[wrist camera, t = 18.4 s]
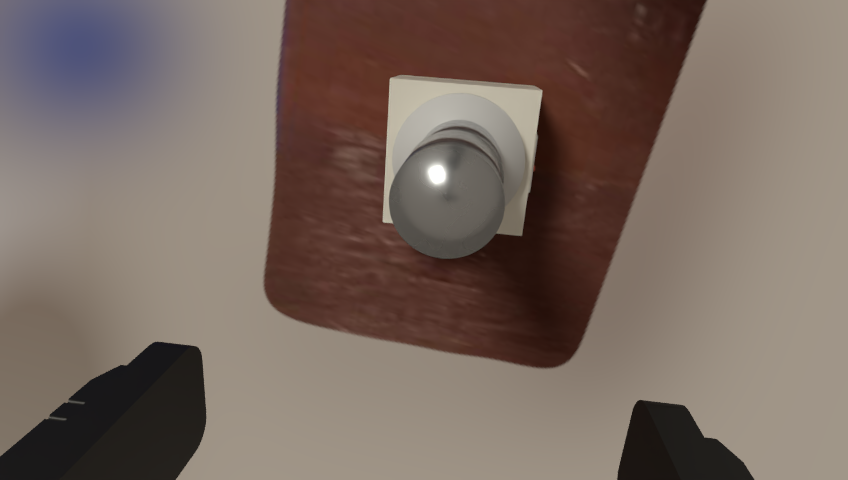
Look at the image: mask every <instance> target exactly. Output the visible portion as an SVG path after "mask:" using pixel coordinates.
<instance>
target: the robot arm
mask: <svg viewBox="0 0 848 480" xmlns="http://www.w3.org/2000/svg"><path fill="white" fill-rule="evenodd" d="M205 425H206V404H205V391H204V378H203V364H202V355H201V352H200V350H199V348H198V347H196V346H190V345H181V344H172V343H164V342H154V343H152V344H151V345H149V346H148V347H147V348H146V349H145V350H144V351H143V352H142V353H140V354H139V355H138V356H137V357H136V358H135V359H134V360H132V361H131V362H130V363H129V364H128V365H127V366H124V365H120V366H118V367H116V368H114V369H112V370H110V371H108V372H106V373H104V374H102V375H100V376H98V377H96V378H94V379H92V380H90V381H89V382H88V383H87V384H86V385H84V387H82V388H81V389H80V390H78V391H77V392H76V393H75V394H74V395H73V396H71V398H69V401H68V403H63V404H62V405H61V406H60V407H58V409H56V410H55V411H54V412H52V413H51V414H50V417H49V419H44V420H43V421H42V422H41V423H39V424H38V425H37V426H36V427H35V428H34V429H32V430H31V431H30V432H29V433H28V434H26V435H25V436H24V437H23V438H22V439H21V440H19V441H18V442H17V443H16V444H15V445H13V446H12V447H11V448H10V449H9V450H8V451H6V452H5V453H4V454H3V455H2V456H0V480H176V478H177V477H178V475H179V474H180V472H181V471H182V470H183V468H184V467H185V466H186V464H187V463H188V461H189V460H190V458H191V457H192V456H193V454H194V453H195V451H196V450H197V448H198V446H199V445H200V442H201V440H202V437H203V434H204V430H205ZM617 480H754V478H753V477H752V475H751V474H750V472H749V471H748V469H747V467H746V466H745V465H744V463H743V462H742V461H741V460H740V459H739V458H737V456H735V455H734V454H733V453H732V452H731V451H730V450H728V449H727V448H726V447H725V446H724V445H723V444H722V443H721V442H719V441H718V440H717V439H712V438H704V436H703V435H702V433H701V431H700V429H699V428H698V426H697V425H696V422H695V421H694V419H693V417H692V416H691V414H690V412H689V411H688V409H687V408H686V407H685V406H683V405H677V404H669V403H660V402H651V401H643V400H639V401H637V402H636V404H635V406H634V408H633V412H632V415H631V420H630V424H629V428H628V432H627V436H626V440H625V444H624V449H623V453H622V457H621V461H620V465H619V470H618V478H617Z"/></svg>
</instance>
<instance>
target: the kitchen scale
mask: <svg viewBox="0 0 848 480" xmlns="http://www.w3.org/2000/svg"><path fill="white" fill-rule="evenodd" d="M541 98H542V90H541V89H539V88H537V87H536V86H532V85H520V84H507V83H495V82H483V81H470V80H458V79H446V78H433V77H421V76H409V75H399V76H396V77H392V78H390V88H389V108H388V128H387V148H386V168H385V187H384V207H383V222H386V223H393V221H392V218H391V215H390V210H389V193H390V188H391V184H392V182H393V180H394V177H395V176H396V174H397V172H398V170H399V169H400V168H401V166H402V165H403V163H404V162H405V161H406V159H407V158H408V156H409V155H410V153H411V152H412V151H413V149H414V148H415V147H416V146H417V145H418V144H419V143H420V142H421V141H422V140H423V139H424V138H425V137H426V135H427V134H428V133H429V132H430V131H431V130H432V129H433V128H435V127H436V126H438V125H440V124H442V123H444V122H447V121H451V120H468V121H471V122H474V123H477V124H479V125H480V126H482V127H484V128H485V129H486V130H487V131H488V132H489V133H490V134H491V135H492V136H493V138H494V139H495V141H496V143H497V145H498V148H499V151H500V156H501V161H502V167H503V172H504V186H503V189H504V195H505V211H504V216H503V219H502V222H501V225H500V227H499V229H498V231H497V232H496V234H506V235H516V236H522V232H523V225H524V218H525V211H526V204H527V197H528V193H530V189H531V182H532V175H533V171H535V165H534V161H535V154H536V147H537V140H538V135H537V126H538V119H539V112H540V105H541Z"/></svg>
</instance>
